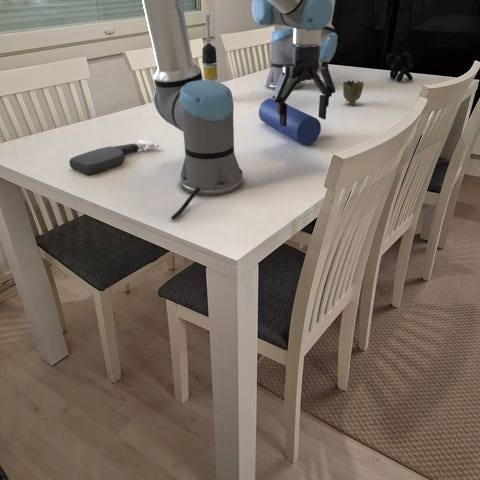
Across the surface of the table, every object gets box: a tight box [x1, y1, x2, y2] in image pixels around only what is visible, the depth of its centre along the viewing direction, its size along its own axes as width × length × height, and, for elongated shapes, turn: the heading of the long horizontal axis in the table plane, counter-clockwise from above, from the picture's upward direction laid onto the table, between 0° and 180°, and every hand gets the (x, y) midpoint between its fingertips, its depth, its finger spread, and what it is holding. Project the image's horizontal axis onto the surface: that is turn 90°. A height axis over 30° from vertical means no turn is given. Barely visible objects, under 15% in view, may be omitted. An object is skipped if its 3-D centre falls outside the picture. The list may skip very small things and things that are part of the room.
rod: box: [258, 97, 322, 146], centre depth 139 cm, size 24×8×8 cm, turn 25°
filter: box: [201, 14, 218, 82], centre depth 171 cm, size 6×6×30 cm
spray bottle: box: [68, 139, 160, 177], centre depth 124 cm, size 3×11×24 cm
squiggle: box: [385, 51, 414, 83], centre depth 198 cm, size 11×10×15 cm
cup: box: [342, 80, 365, 106], centre depth 166 cm, size 8×7×8 cm
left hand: (302, 121), depth 133 cm, fingers open, 13 cm apart
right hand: (280, 21), depth 147 cm, fingers open, 13 cm apart
